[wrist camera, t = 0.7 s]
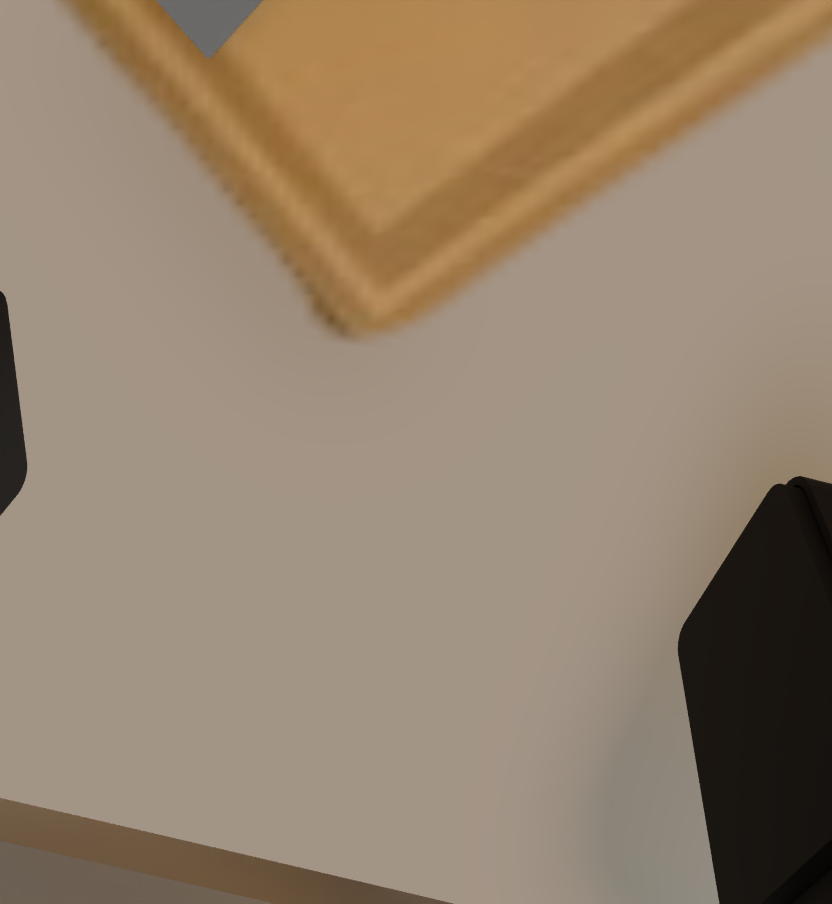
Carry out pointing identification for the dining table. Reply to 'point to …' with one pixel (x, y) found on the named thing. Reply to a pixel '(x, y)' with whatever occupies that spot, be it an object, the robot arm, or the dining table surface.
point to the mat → (209, 19)
